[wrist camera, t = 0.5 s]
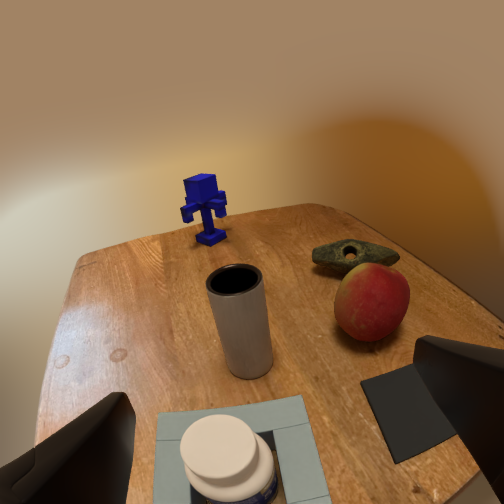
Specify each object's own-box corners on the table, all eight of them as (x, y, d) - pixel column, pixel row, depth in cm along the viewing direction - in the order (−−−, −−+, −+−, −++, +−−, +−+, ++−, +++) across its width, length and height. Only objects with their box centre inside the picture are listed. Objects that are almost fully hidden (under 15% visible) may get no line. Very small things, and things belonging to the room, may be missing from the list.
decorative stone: (332, 298, 35) (333, 263, 32) (308, 268, 41) (307, 236, 39) (400, 275, 37) (405, 243, 34) (371, 251, 43) (373, 221, 41)
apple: (412, 346, 26) (430, 284, 22) (339, 361, 26) (346, 297, 22) (389, 302, 32) (398, 244, 28) (325, 312, 33) (327, 252, 29)
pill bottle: (284, 510, 14) (277, 484, 10) (211, 517, 14) (166, 491, 10) (272, 452, 19) (261, 398, 15) (207, 460, 19) (169, 408, 14)
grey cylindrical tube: (275, 376, 26) (265, 290, 21) (228, 382, 26) (202, 299, 21) (270, 343, 30) (259, 259, 25) (228, 348, 30) (207, 267, 25)
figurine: (231, 228, 57) (221, 168, 52) (231, 246, 51) (220, 178, 45) (193, 234, 57) (181, 175, 52) (189, 252, 51) (173, 186, 45)
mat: (478, 420, 16) (480, 418, 16) (395, 464, 15) (396, 463, 15) (436, 355, 24) (437, 353, 24) (360, 383, 23) (360, 381, 23)
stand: (331, 532, 12) (339, 528, 10) (175, 547, 11) (152, 543, 9) (301, 417, 21) (301, 393, 19) (174, 434, 21) (157, 412, 19)
